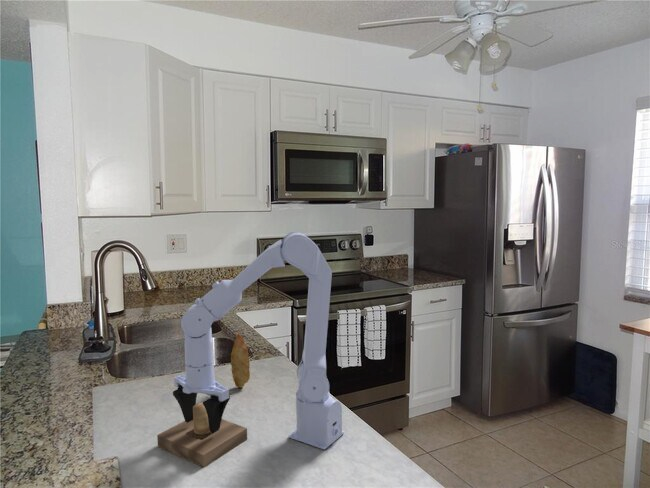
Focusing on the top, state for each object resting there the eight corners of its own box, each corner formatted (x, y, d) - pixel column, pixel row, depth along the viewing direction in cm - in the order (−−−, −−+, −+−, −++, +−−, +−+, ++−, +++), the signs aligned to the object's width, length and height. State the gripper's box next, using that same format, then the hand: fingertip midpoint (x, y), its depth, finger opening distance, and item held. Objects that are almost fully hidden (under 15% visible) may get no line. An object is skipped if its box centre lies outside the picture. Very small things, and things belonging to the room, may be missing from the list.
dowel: (215, 441, 96) (214, 405, 95) (202, 449, 93) (201, 412, 92) (203, 436, 98) (202, 401, 97) (190, 444, 95) (188, 407, 94)
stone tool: (250, 385, 125) (249, 332, 123) (250, 388, 123) (248, 334, 121) (232, 386, 125) (230, 333, 123) (231, 389, 122) (229, 335, 121)
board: (247, 439, 97) (246, 428, 97) (204, 467, 87) (203, 455, 87) (202, 422, 104) (201, 411, 104) (157, 446, 94) (157, 434, 94)
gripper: (161, 362, 95) (164, 424, 96) (209, 376, 87) (212, 443, 88) (188, 352, 100) (190, 410, 102) (235, 364, 92) (237, 427, 94)
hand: (202, 425), depth 95 cm, fingers open, 7 cm apart
